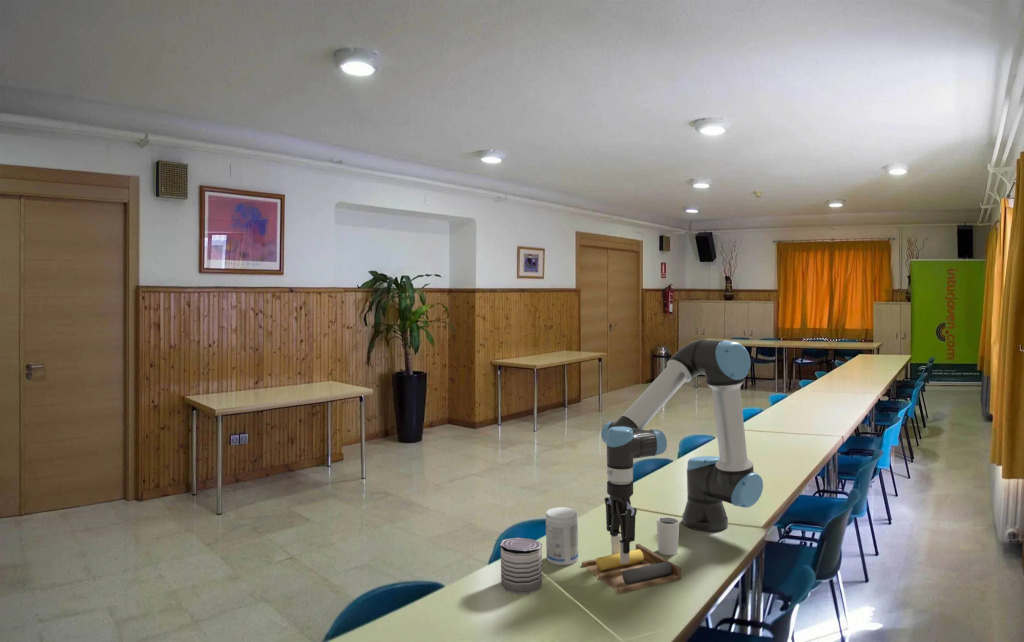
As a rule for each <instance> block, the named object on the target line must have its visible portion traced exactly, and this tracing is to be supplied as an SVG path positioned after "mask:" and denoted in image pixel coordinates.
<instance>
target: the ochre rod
mask: <svg viewBox="0 0 1024 642" xmlns="http://www.w3.org/2000/svg"><path fill="white" fill-rule="evenodd" d="M595 559H596V565H597V568H598V570H600V571H603V570H607V569H612V568H617V567H621V566H626V565H631V564H635V563H640V562H643V560H644V556H643V553H642V551H641V550H639V549H638V550H636V549H634V550H630V552H629V563H626V564H622V565H621V564H620V553H619V554H614V555H612V554H609V555H606V556H605V555H604V556H600V557H596V558H595Z"/></svg>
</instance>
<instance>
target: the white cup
mask: <svg viewBox="0 0 1024 642" xmlns="http://www.w3.org/2000/svg"><path fill="white" fill-rule="evenodd" d="M656 530H657V548H658V549H657V550H658V553H659V554H661V555H664V556H665V555H666V556H674V555H677V554H678V553H679V552H678V551H679V533H680V532H679V531H680V520H679V519H677V518H675V517H672V516H662V517H658V518H657V519H656Z"/></svg>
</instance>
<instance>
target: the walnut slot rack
mask: <svg viewBox="0 0 1024 642" xmlns="http://www.w3.org/2000/svg"><path fill="white" fill-rule="evenodd" d="M638 549H639V550H641V551H642V553H643V556H644V560H643V562H640V563H635V564H631V565H626V566H621V567H617V568H612V569H607V570H603V571H600V570H598V568H597V565H596V559H597V558H594V559H589V560H584V561H583V560H582V562H581V566H582V567H583V568H585V569H586V570H587V571H588V572H590V573H592V574H593V575H594V576H595V577H597V578H598V579H600V581H602V582H604V583H605V584H606V585H607V586H609V587H610V588H612V589H613V590H615V591H616V592H617V593H619V594H624V593H627V592H632V591H636V590H640V589H644V588H648V587H654V586H657V585H662V584H666V583H670V582H674V581H679V580H681V579H682V568H681V567H679V566H678V565H676V564H674V563H672V562H671V561H669V560H667V559H666V558H664V557H662V556H661V555H660V554H657V553H656V552H654V551H652V550H651V549H648V548H647V547H645V546H644V545H642V544H640V543H635V550H638ZM663 562H669V563H670V565H671V567H672V574H671V575H668V576H664V577H659V578H655V579H651V580H646V581H642V582H637V583H633V584H629V585H627V584H625V582H624V580H623V576H622V575H623V571H626V570H630V569H635V568H640V567H644V566H649V565H653V564H658V563H663Z"/></svg>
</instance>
